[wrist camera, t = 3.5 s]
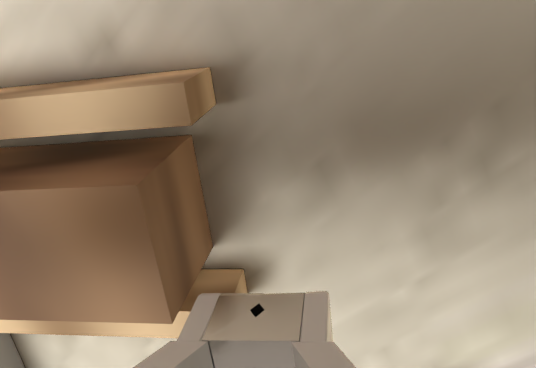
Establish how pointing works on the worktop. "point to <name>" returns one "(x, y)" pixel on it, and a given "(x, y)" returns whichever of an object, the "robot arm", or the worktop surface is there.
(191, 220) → the block
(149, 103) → the oak shelf rails
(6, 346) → the slate plinth
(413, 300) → the worktop surface
